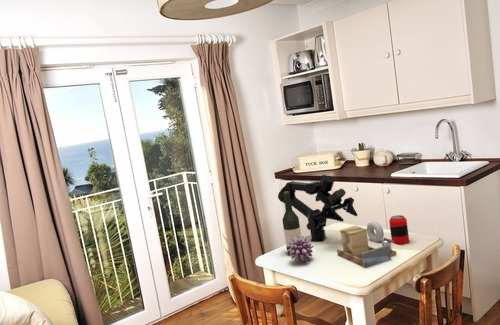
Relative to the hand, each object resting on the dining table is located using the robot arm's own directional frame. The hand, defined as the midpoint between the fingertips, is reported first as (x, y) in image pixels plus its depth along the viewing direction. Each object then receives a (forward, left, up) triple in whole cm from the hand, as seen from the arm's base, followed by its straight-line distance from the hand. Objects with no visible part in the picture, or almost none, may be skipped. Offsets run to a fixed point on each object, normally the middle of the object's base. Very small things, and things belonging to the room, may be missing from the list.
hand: (350, 218), depth 196 cm
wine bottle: (-27, -8, -14) cm, 31 cm away
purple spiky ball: (-19, -19, -14) cm, 30 cm away
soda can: (+19, +8, -14) cm, 26 cm away
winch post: (+17, -10, -14) cm, 24 cm away
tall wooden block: (+4, -10, -14) cm, 17 cm away
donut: (+8, +8, -14) cm, 19 cm away
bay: (+7, -13, -14) cm, 21 cm away
